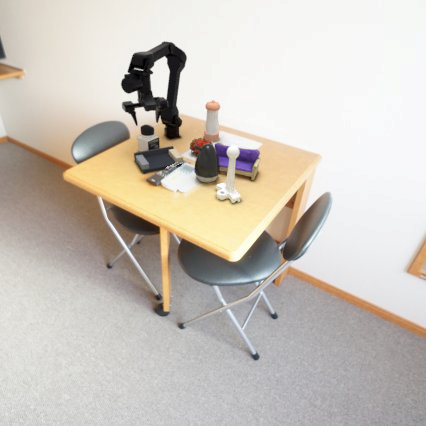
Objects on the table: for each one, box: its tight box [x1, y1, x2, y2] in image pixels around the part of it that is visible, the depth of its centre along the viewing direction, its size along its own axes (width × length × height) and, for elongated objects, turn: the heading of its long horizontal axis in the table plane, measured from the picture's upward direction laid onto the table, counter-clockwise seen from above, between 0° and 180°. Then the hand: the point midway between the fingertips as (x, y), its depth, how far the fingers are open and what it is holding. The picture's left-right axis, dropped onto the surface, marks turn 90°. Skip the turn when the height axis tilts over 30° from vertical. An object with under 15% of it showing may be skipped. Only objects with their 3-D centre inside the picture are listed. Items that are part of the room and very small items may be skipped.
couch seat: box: [133, 145, 184, 175], centre depth 137 cm, size 18×12×4 cm, turn 117°
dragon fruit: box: [189, 137, 214, 156], centre depth 145 cm, size 8×8×12 cm
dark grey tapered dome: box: [193, 144, 221, 183], centre depth 125 cm, size 10×10×15 cm
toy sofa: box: [213, 141, 262, 181], centre depth 132 cm, size 21×9×10 cm, turn 70°
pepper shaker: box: [203, 99, 221, 143], centre depth 155 cm, size 7×7×19 cm
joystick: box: [216, 145, 242, 204], centre depth 114 cm, size 11×8×20 cm
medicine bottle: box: [136, 123, 161, 152], centre depth 144 cm, size 7×7×12 cm
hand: (147, 124), depth 140 cm, fingers open, 9 cm apart
